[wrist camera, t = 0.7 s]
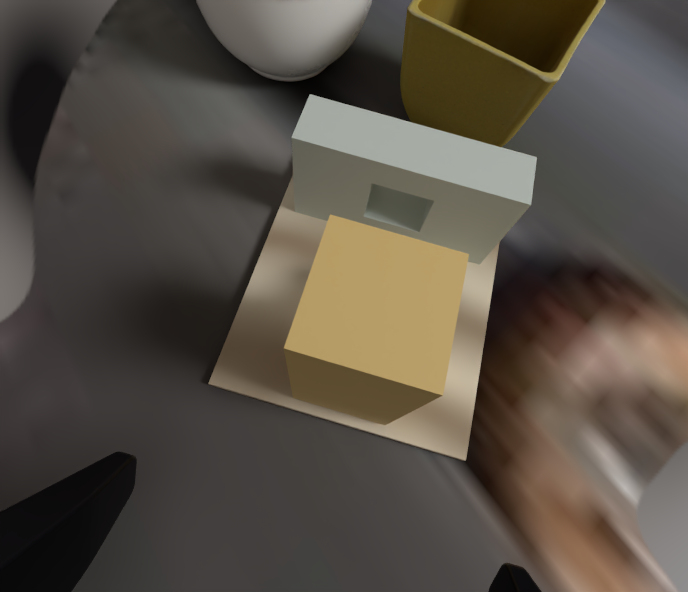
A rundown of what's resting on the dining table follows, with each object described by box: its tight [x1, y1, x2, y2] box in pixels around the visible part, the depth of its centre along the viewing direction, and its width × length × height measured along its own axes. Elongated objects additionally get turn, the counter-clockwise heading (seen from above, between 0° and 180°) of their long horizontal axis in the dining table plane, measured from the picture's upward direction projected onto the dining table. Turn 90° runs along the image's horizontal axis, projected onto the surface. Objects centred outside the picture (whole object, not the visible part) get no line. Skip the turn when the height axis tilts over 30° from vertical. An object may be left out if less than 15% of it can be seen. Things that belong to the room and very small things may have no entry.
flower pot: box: [400, 0, 606, 147], centre depth 27 cm, size 9×9×9 cm
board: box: [208, 175, 499, 461], centre depth 26 cm, size 17×14×1 cm
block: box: [284, 214, 469, 425], centre depth 19 cm, size 8×5×10 cm, turn 164°
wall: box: [291, 94, 537, 265], centre depth 24 cm, size 3×12×6 cm, turn 74°
